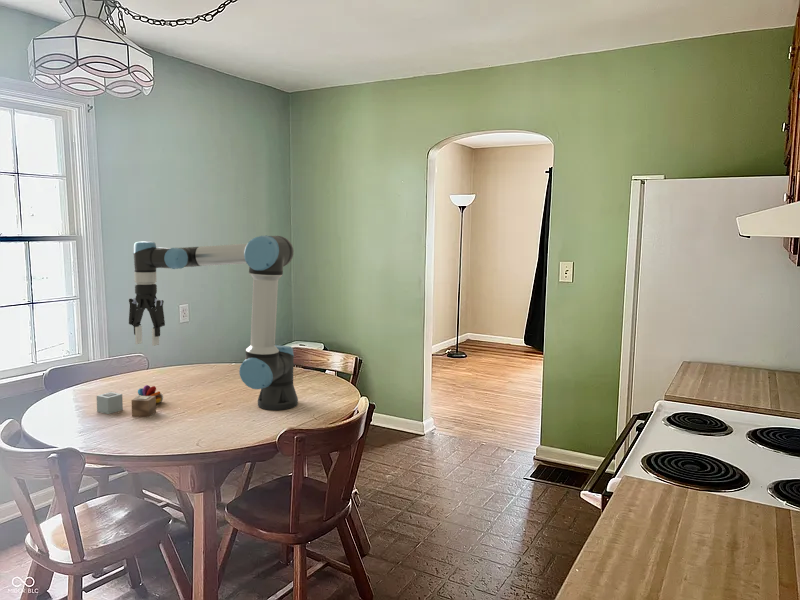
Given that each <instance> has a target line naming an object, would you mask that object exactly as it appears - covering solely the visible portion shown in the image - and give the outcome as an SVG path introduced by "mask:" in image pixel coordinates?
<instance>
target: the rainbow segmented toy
mask: <svg viewBox="0 0 800 600" xmlns="http://www.w3.org/2000/svg"><path fill="white" fill-rule="evenodd" d="M138 396H156V404H159V403H161V402H162V401H163V400H164V395H163V394H162V393H161V391H157V387H156V386H155V385H153V386H150V385H147V384H146V385H144V386H143V387H141V388H139V389H138V390H137V395H136V396H135V397H134V398H136V397H138Z"/></svg>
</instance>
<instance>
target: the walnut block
mask: <svg viewBox="0 0 800 600" xmlns="http://www.w3.org/2000/svg"><path fill="white" fill-rule="evenodd" d="M137 396H138V395H137ZM135 397H136V396H135ZM135 397H134V398H133V399H131V417H137V418H139V417H140V418H143V417H144V418H145V417H146V418H149V417H151V416H152V415H154V414H155V413H157V403H156V396H138V397H136V398H135Z"/></svg>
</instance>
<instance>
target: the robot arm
mask: <svg viewBox="0 0 800 600" xmlns="http://www.w3.org/2000/svg"><path fill="white" fill-rule="evenodd" d="M294 251H295V250H294V247H293V244H292V243H291V242H290V241H289V239H288V238H286V237H285V236H281V235H259V236H256V237H255V236H254V237H253V238H251V239H250V240H249V241H248V242H247V243H235V244H220V245H219V244H218V245H206V246H205V245H203V246H186V247H157V246H156V242H154V241H136V242H135V243H134V244H133V253H132V254H133V263H134V264H133V265H134V272H133V273H134V283H135V285H134V294H135V297H133V298H129V299H128V303H129V311H128V324H129V325H131V326H132V327H133V335H134V336H135V345H140V344H143V332H142V331H143V325H142V324H141V322H142V318H143V316H144V313H145V310H147V311H148V313H149V316H150V319H151V323H152V325H153V327H151V339H152V340H151V341H152V343H151V344H152V347H154V346H159V345H160V337H161V328H163V327H165V325H166V324H165V323H166V322H165V321H166V320H165V313H164V300H163V299H158V298H157V294H158V293H157V292H158V288H157V287H158V286H157V269H171V270H178V269H180V270H181V269H183V268H190V267H191V268H193V267H202V266H203V267H207V266H209V267H210V266H226V265H227V266H228V265H229V266H230V265H246V264H247V266H248V274H249V276H251V277H252V279H253V280H252V301H251V302H252V303H251V321H250V342H249V343H250V345H249V346H248V347H247V348H246V349H245V359H244V360H243V361H242V363H241V364H240V366H239V378H240V379H241V381H242V382H243V383H244V384H245V386H246V387H248V388H250V389H252V390H260V392H259V395H258V398H257V407H259V408H260V409H263V410H268V411H282V410H288V409H293V408H296V407H297V406H298V404H299V399H298V398H299V397H298V395H297V392H296V388H295V386H294V360H295V359H294V358H295V354H294V349H293V347H292V346H290V345H289V346H288V345H277V344H276V331H277V329H276V328H277V314H278V313H277V309H278V308H277V307H278V291H279V289H278V288H279V280H280V278H281V277H282V276H283V275H284V267H286V266H288V264H290V262H291V261H292V259H293V257H294V254H295V253H294Z"/></svg>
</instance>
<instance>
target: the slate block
mask: <svg viewBox="0 0 800 600" xmlns="http://www.w3.org/2000/svg"><path fill="white" fill-rule="evenodd" d="M123 403H124V402H123V394H122V393H118V392H113V391H110V392H105V393H102V394H98V395H96V412H97V413H102V414H106V415H110V414H115V413H117V412H120V411H123V410H124V406H123Z"/></svg>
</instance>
